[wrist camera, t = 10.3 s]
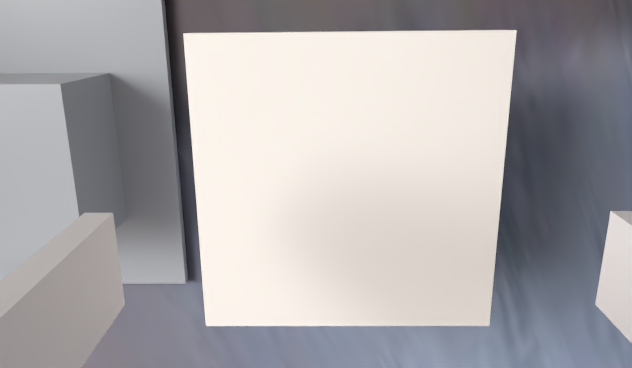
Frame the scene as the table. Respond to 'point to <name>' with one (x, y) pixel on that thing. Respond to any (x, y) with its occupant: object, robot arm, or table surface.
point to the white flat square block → (349, 174)
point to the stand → (90, 131)
